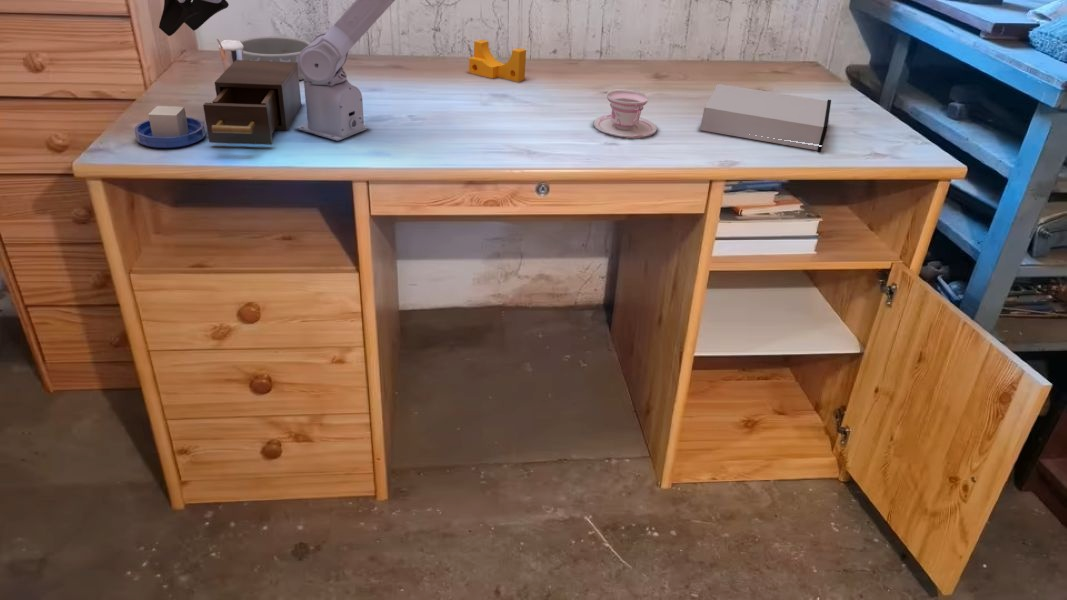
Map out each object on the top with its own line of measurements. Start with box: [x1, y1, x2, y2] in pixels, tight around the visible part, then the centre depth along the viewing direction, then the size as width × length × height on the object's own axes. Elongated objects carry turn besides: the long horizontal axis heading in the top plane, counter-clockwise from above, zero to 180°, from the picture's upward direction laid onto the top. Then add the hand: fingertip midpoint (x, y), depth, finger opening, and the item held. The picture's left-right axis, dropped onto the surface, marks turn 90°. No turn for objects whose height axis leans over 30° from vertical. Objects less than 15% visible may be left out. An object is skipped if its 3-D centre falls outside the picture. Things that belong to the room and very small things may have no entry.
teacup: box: [593, 88, 658, 138], centre depth 147 cm, size 12×12×6 cm
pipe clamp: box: [468, 39, 527, 83], centre depth 171 cm, size 12×4×6 cm, turn 58°
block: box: [148, 105, 189, 137], centre depth 130 cm, size 4×4×4 cm
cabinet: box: [214, 60, 302, 131], centre depth 140 cm, size 14×11×8 cm
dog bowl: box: [239, 35, 312, 81], centre depth 166 cm, size 17×18×5 cm
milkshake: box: [216, 38, 244, 72], centre depth 153 cm, size 4×5×10 cm
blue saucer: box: [134, 116, 207, 149], centre depth 130 cm, size 11×11×2 cm
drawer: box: [202, 87, 281, 145], centre depth 131 cm, size 17×10×6 cm, turn 4°
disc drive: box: [699, 83, 832, 153], centre depth 152 cm, size 18×22×5 cm
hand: (177, 28), depth 130 cm, fingers open, 7 cm apart
